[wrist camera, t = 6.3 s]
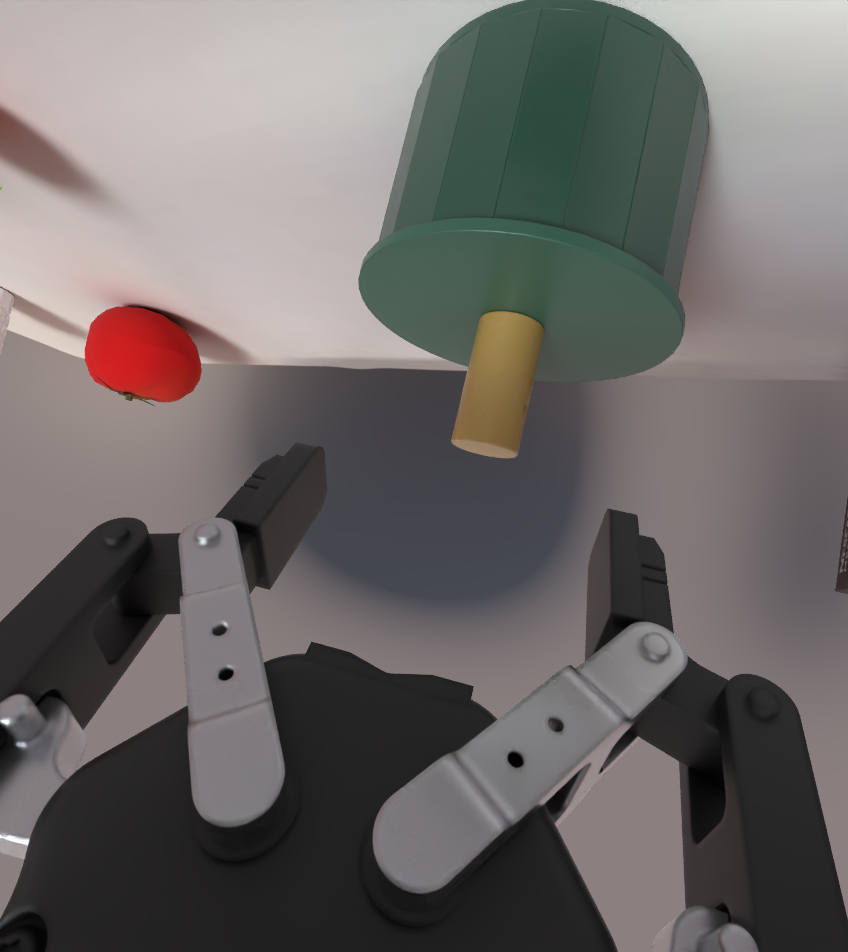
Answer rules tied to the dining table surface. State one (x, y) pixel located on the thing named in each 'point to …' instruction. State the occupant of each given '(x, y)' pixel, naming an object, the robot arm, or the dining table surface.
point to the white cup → (4, 313)
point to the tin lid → (518, 313)
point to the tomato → (142, 355)
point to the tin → (559, 129)
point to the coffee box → (843, 560)
